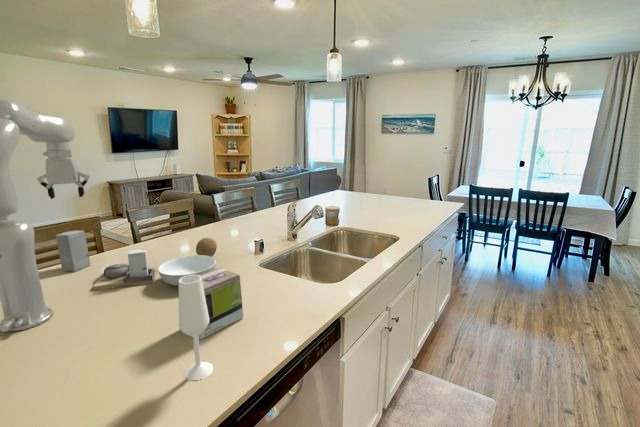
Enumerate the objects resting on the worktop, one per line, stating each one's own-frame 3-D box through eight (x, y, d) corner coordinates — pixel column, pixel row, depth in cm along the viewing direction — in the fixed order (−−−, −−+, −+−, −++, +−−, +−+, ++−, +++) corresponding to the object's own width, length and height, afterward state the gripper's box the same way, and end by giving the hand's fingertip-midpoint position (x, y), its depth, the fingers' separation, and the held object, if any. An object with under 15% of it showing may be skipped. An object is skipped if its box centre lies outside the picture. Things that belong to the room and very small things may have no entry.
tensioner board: (153, 282, 129) (151, 270, 128) (93, 290, 123) (90, 277, 122) (157, 269, 142) (156, 258, 141) (103, 275, 136) (101, 264, 134)
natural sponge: (204, 264, 148) (202, 242, 145) (192, 259, 153) (190, 238, 151) (221, 258, 155) (219, 237, 152) (209, 254, 160) (208, 234, 158)
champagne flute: (188, 385, 77) (178, 288, 71) (180, 368, 82) (170, 277, 76) (217, 373, 80) (209, 280, 75) (208, 358, 86) (200, 270, 80)
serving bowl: (193, 266, 145) (192, 251, 144) (228, 276, 135) (227, 260, 133) (148, 284, 128) (146, 267, 126) (184, 297, 117) (182, 279, 116)
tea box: (224, 308, 110) (221, 266, 107) (243, 318, 104) (241, 274, 101) (181, 328, 99) (176, 281, 96) (200, 341, 93) (195, 292, 90)
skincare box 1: (74, 272, 139) (68, 235, 135) (60, 271, 140) (53, 234, 137) (92, 264, 147) (86, 230, 143) (78, 263, 148) (72, 229, 145)
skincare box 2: (130, 284, 128) (126, 254, 125) (132, 279, 132) (128, 250, 129) (148, 281, 130) (145, 251, 128) (149, 277, 134) (145, 248, 132)
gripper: (28, 156, 126) (37, 200, 130) (83, 154, 133) (90, 197, 137) (36, 154, 133) (44, 197, 137) (87, 153, 140) (94, 194, 144)
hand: (67, 197), depth 137 cm, fingers open, 9 cm apart
